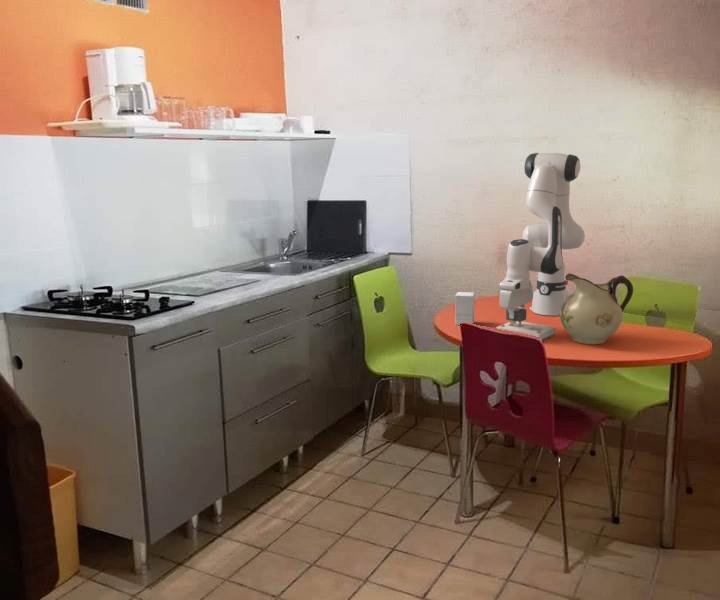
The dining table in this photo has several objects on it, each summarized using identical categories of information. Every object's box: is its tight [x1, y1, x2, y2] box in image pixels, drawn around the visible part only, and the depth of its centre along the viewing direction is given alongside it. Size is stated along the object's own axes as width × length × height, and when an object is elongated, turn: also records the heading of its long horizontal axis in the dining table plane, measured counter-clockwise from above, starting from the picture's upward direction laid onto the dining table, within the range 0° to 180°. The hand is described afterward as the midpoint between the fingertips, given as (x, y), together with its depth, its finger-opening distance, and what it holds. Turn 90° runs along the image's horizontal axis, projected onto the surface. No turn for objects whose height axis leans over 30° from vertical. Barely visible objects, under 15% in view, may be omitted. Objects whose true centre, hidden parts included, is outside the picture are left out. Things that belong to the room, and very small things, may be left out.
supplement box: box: [454, 291, 476, 326], centre depth 292 cm, size 7×7×13 cm
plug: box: [505, 307, 527, 325], centre depth 276 cm, size 5×6×6 cm
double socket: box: [496, 321, 557, 341], centre depth 275 cm, size 14×18×4 cm
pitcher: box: [559, 272, 634, 345], centre depth 265 cm, size 22×24×25 cm
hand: (516, 316), depth 276 cm, fingers closed on plug, 5 cm apart
